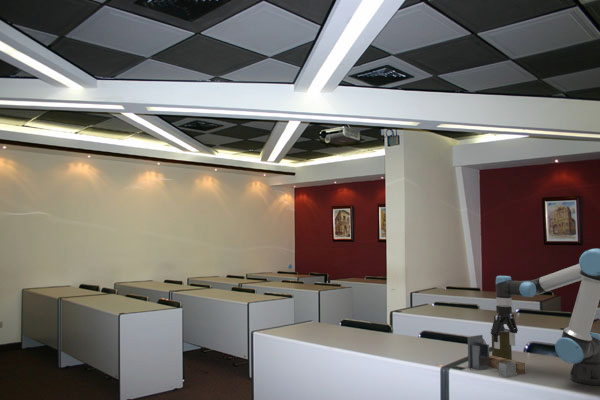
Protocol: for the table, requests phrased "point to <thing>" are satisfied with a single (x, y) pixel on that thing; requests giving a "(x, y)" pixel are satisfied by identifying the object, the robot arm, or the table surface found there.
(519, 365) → the rail
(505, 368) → the block
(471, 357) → the bracket
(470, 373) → the table surface
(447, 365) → the table surface
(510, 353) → the canister
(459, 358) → the table surface
